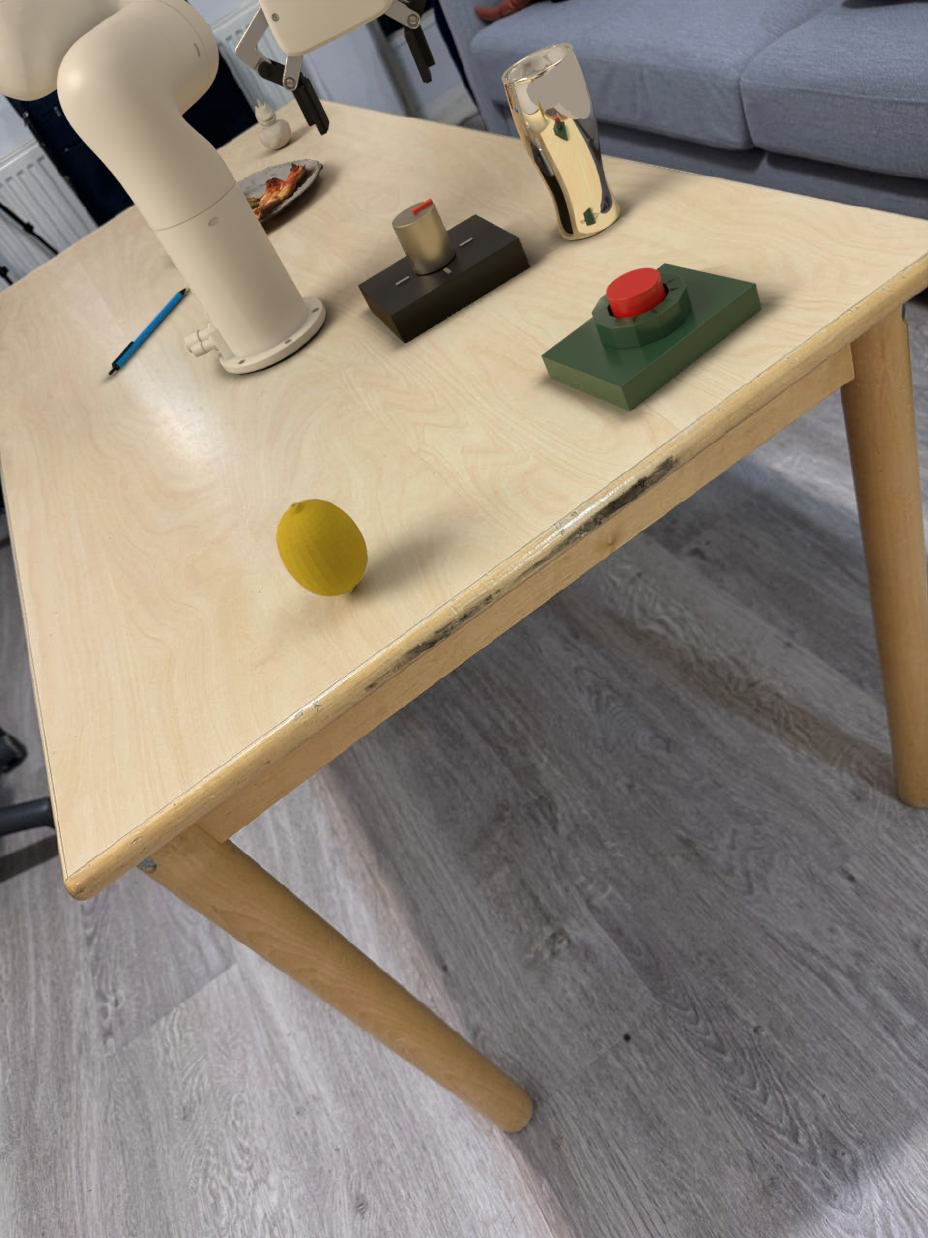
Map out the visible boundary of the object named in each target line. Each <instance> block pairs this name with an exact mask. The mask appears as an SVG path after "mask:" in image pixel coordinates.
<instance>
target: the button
mask: <svg viewBox="0 0 928 1238" xmlns="http://www.w3.org/2000/svg"><path fill="white" fill-rule="evenodd" d="M656 269H657V268H654V267H640V268H635V269H633V270H630V271H627V272H625V273H623V274H621V275H619V276H617V277H616V278H615V279H614V280H612V281H611V282H610V283H609V284H608V285H607V288H606V291H605V294H606V295H607V298H608V301H609V304H610V307H611V310H612V312H613V315H614V316H615V317H616V318H627V317H635V316H638V315H640V314H643V313H645V312H648V311H650V310H652V309H654V308H655V307H656V306H658V305H659V304H660V303H662V302H663V301H664V300H665V297H666V293H665V290H664V287H663V283H662V280H661V277H660V273H659V271H657V270H656Z"/></svg>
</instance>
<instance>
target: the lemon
mask: <svg viewBox="0 0 928 1238" xmlns="http://www.w3.org/2000/svg"><path fill="white" fill-rule="evenodd" d="M275 533H276V534H275V540H276V546H277V547H276V548H277V551H278V554H279V557H280V559H281V561H282V564H283V565H284V567H285V569H286V571H287V572H288V573H289V574H290V576H291V577H292V579H293V580H294V581H295V582H296V583H297V584H298V585H300V586H301V588H303V589H304V590H306V591H309V592H311V593H312V594H315V595H318V596H322V597H335V596H340V595H344V594H346V593H351V592H353V591H354V589H355V587H356V586H357V585H358V584H359V583H360V581H361V580H362V579H363V576H364V575H365V573H366V570H367V566H368V560H369V556H368V555H369V554H368V547H367V543H366V540H365V537H364V536H363V533H362V531H361V530H360V528H359V527H358V526H357V524H356V522H355V521H354V520H353V518H352V517H351V516H350V515H349V514H348V513H346V512H345V510H343V508H341V507H339V506H337V505H336V504H335V503H333V502H330V501H329V500H324V499H320V498H319V499H318V498H309V499H303V500H301V501H294V502H292V503H291V504H290V505H289V507H288V509H286V511H285V512H284V514H283V515H282V516H281V518H280V520H279V522H278V524H277V529H276V532H275Z"/></svg>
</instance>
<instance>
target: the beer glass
mask: <svg viewBox="0 0 928 1238" xmlns="http://www.w3.org/2000/svg"><path fill="white" fill-rule="evenodd" d="M500 79H501V82H502V85H503V88H504V91H505V95H506V99H507V102H508V106H509V109H510V113H511V116H512V119H513V123H514V126H515V128H516V131H517V134H518V135H519V139H520V140H521V143H522V145H523V147H524V150H525V151H526V153H527V155H528V157H529V158H530V160H531V162H532V164H533V166H534V167H535V169H536V171H537V173H538V175H539V176H540V178H541V180H542V182H543V183H544V185H545V187H546V189H547V191H548V193H549V195H550V198H551V200H552V203H553V207H554V211H555V217H556V224H557V228H558V233H559V235H560V237H561V238H562V239H564V240H568V241H578V240H583V239H587V238H590V237H592V236H595V235H598V234H599V233H601V232H603V231H605V230H606V229H608V228H609V227H610V226H612V225H613V224H614V223H615V222H616V221H617V220H618V219H619V218H620V215H621V211H622V210H621V206H620V204H619V202H618V200H617V199H616V196H615V194H614V193H613V191H612V189H611V187H610V184H609V181H608V179H607V176H606V172H605V168H604V164H603V163H604V162H603V157H602V151H601V150H602V149H601V143H600V135H599V128H598V122H597V115H596V110H595V106H594V104H593V102H594V101H593V99H592V94H591V93H590V89H589V86H588V83H587V80H586V78H585V75H584V72H583V70H582V67H581V65H580V62H579V59H578V57H577V55H576V52H575V49H574V45H573V44H572V43H570V42H561V43H556V44H551V45H549V46H546V47H543V48H540V49H538V50H535V51H534V52H531V53H529V54H528V55H526V56H524V57H522V58H520V59H519V60H518V61H516V62H514V63H513V64H512V65H510V66H509V67H508V68H507V69H506V70H505V71H504V72H503V74H502V75H501V78H500Z"/></svg>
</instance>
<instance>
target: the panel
mask: <svg viewBox="0 0 928 1238" xmlns="http://www.w3.org/2000/svg"><path fill="white" fill-rule="evenodd" d="M446 231H447V234H448V236H449V238H450V241H451V243H452V245H453V247H454V250H455V256H454V258H453V259H452V260H451V261H450V262H449V263H448V264H447V265H445V266H444V267H442V268H440V269H438V270H436V271H434V272H432V273H428V274H424V275H418V274H416V273H415V272H414V271H413V268H412V266H411V264H410V262H409V260H408V258H407V256H404V257H402V258H400V259H399V260H397V261H396V262H394V263H392V264H391V265H389V266H387V267H386V268H383V270H381V271H379V272H378V273H376V274H374V275H372V276H371V277H369V278H368V279H366V280H364V281H362V282H361V283H359V284H357V287H358V289H359V291H360V293H361V295H362V296H363V298H364V300H365V302H366V305H367V306H368V308H369V310H370V311H371V312H372V314H374V315H375V316H376V317H377V318H378V319H379V320H380V321H381V322H382V323H383V324H384V325H385V326H386V327H387V328H388V329H389V330H390V331H391V332H392V333H393V334H394V335H395V336H396V337H397V338H399V340H401V342H402V343H403V344H406V343H408V342H410V341H411V340H413V339H414V338H416V337H418V336H419V335H420V334H422V333H424V332H426V331H427V330H429V329H430V328H433V327H434V326H436V325H437V324H439V323H440V322H442V321H443V320H445V319H447V318H449V317H450V316H452V315H454V314H455V313H457V312H458V311H460V310H461V309H463V308H465V307H467V306H468V305H470V304H471V303H473V302H475V301H476V300H478V299H479V298H481V297H483V296H485V295H486V294H488V293H489V292H491V291H492V290H494V289H496V288H497V287H500V286H501V285H503V284H504V283H506V282H508V281H509V280H511V279H512V278H514V277H516V276H517V275H518V274H521V273H522V272H524V271H525V270H527V269H529V268H530V267H531V265H530V263H529V260H528V257H527V255H526V252H525V249H524V247H523V244H522V242H521V239H520V237H519V236H516V235H515V234H513V233H511V232H509V231H507V230H505V229H503V228H502V227H500V226H498V225H496V224H495V223H493V222H491V221H489V220H487V219H486V218H483V217H481V216H480V215H478V214H476V213H474V214H473V215H470V217H467V218H466V219H464V220H462V221H461V222H460V223H457V224H456V225H455V226H453V227H451V228H449V229H448V230H446Z"/></svg>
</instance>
